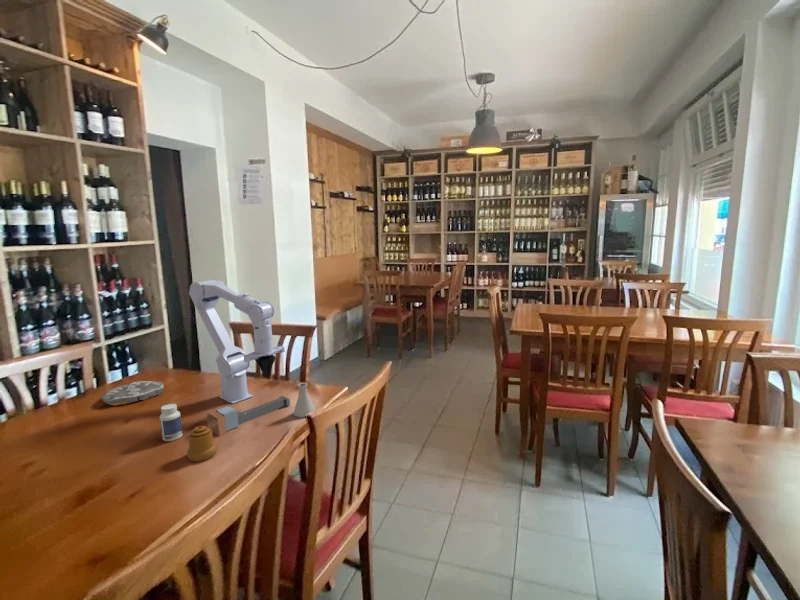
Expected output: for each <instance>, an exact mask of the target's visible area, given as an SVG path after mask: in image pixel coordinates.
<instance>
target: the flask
mask: <svg viewBox="0 0 800 600" xmlns="http://www.w3.org/2000/svg"><path fill="white" fill-rule="evenodd" d="M307 387H308V383H307V382H300V383H298V384H297V388H298V397H297V399H296V403H295V407H294V411H293V417H296V418H306V417H305V416H306V414H308V413H310V412H313V411H315V412H316V408H315V406H314V404H313V402H312V400H311V397H310V395H309V393H308V392H309V391H308V388H307Z"/></svg>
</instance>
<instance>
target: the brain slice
mask: <svg viewBox="0 0 800 600" xmlns="http://www.w3.org/2000/svg"><path fill="white" fill-rule="evenodd" d="M163 383H164V382H162V381H157V380H156V381H155V380H154V381H153V380H147V381H144V380H142V381H141V380H140V381H134V382H130V383H129V384H122V385H116V386H115V387H114V388H111V389H109V390H108V391H107V392H105V393H104V394H103V395H102V396H101V398H100V399H101V400H102V401H103V402H104V403H105V404H107V405H108V404H109V405H108V406H111V404H116V403H124V402H134V401H138V400H143V399H146V398H149V397H152V398H154V397H153V396H155V397H157V396H156V395H158V396H159V395H160V394H162V392H163V391H164V389H165V384H163ZM149 399H150V398H149ZM138 402H139V401H138Z"/></svg>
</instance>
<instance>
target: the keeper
mask: <svg viewBox="0 0 800 600" xmlns="http://www.w3.org/2000/svg"><path fill="white" fill-rule="evenodd" d="M215 411H216V412H218V413H219V414H221V415H223V416H224V417H225V427H226V432H228V431H230V430H233V429H235V428H238V427H239V425H238V416H237V414H238V410H237V409H236V408H234V407H232V406H229V405H227V406H224V407H222V408H219V409H216V410H215Z"/></svg>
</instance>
